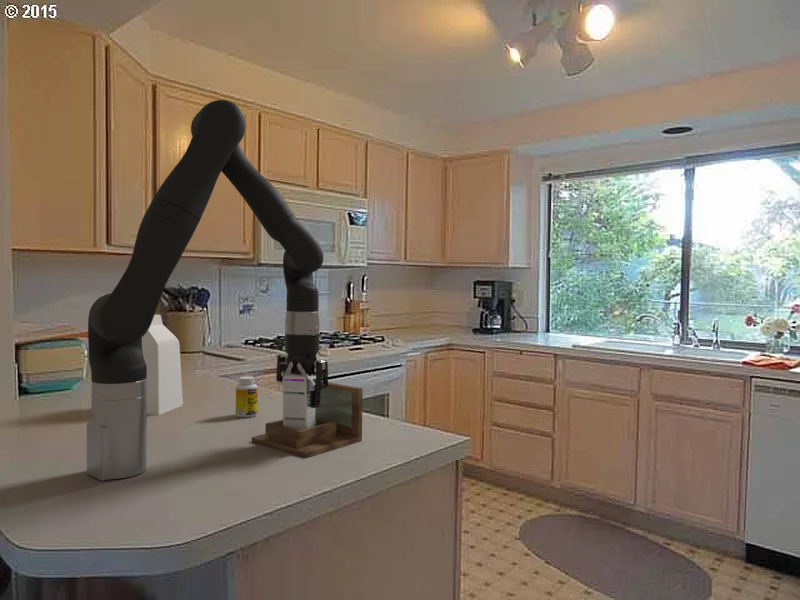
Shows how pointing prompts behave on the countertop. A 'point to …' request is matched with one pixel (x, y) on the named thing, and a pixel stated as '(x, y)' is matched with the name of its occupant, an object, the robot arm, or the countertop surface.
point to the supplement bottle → (246, 397)
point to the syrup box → (297, 403)
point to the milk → (162, 368)
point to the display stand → (321, 425)
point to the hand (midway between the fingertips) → (301, 404)
